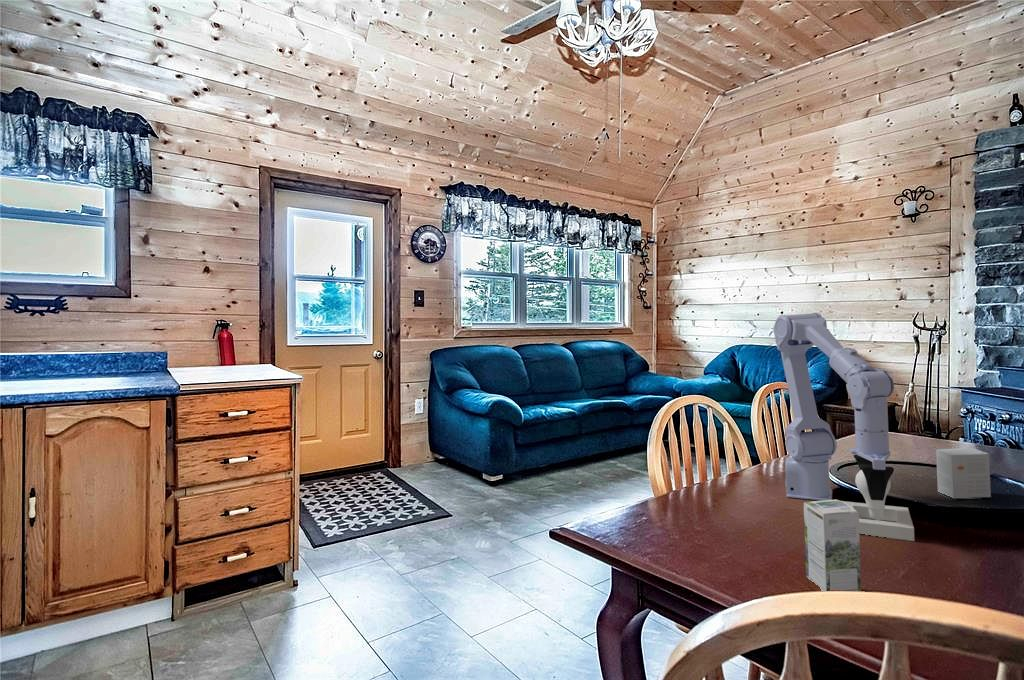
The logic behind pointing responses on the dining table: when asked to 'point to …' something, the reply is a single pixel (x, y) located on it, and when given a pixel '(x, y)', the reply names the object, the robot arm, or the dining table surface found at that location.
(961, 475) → the small box
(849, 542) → the syrup box
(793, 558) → the dining table surface
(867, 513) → the white shallow tray
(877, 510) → the lightbulb
